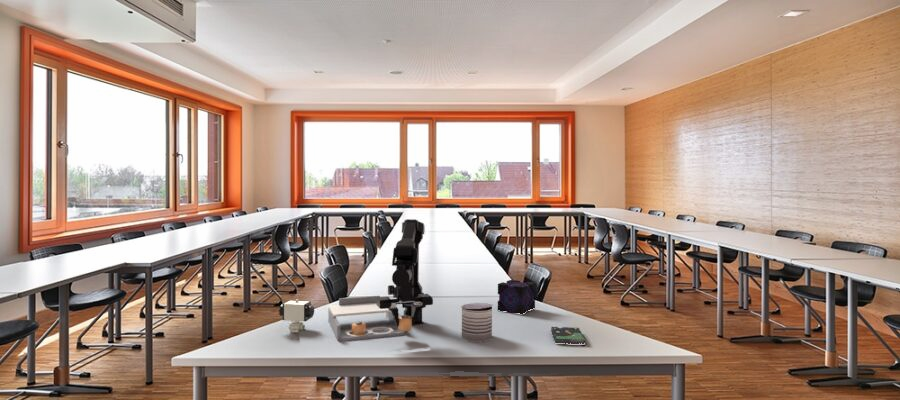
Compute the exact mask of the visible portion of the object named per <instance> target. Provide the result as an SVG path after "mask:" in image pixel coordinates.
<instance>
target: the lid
mask: <svg viewBox="0 0 900 400" xmlns="http://www.w3.org/2000/svg"><path fill="white" fill-rule="evenodd" d="M378 297H381V296H380V295H371V296H370V295H369V296H367V295H366V296H355V297H353V296H352V297H339V298H338V304H332V305H330V304H329V305H328V308H329V309H330V311H331V313H332V315H333V317H336V318H337V317H338V318H339V317H347V316H358V315H359V316H360V315H361V316H362V315H372V314H373V315H374V314H383V313H385V314H386V312H391V311H390V310H389V309H388V308H386V309H380V308H379V307H378V306H377V298H378Z"/></svg>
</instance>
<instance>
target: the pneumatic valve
mask: <svg viewBox="0 0 900 400" xmlns="http://www.w3.org/2000/svg"><path fill="white" fill-rule="evenodd" d="M278 314H279V316H280V317H281V318H282V321H284V322H285V321H288V322H290V321H291V323H289V325H288V329H289V333H291V334H298V333H299V331H304V330H305V328H306V326H305V324H304V322H307V321H309V320H310V319H312V318H313V317H314V315H315V306H314V305H312V301H307V300H305V301H303V300H299V299H298V298H297V299H295V300H287V301H285V302H282V304H281V305H280V306H279V309H278Z"/></svg>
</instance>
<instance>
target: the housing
mask: <svg viewBox="0 0 900 400" xmlns="http://www.w3.org/2000/svg"><path fill="white" fill-rule="evenodd" d="M327 308H328V317H327V318H328V320H327V321H328V323H329V326H330V328H331V330H332V332H333V334H334V337H335V340H337V341H338V342H348V341H358V340H359V341H361V340H368V339H379V338H389V337H390V338H391V337H397V336H398V337H400V336H404V335H406V331H400V330H398V327H397V326H396V323H395V320H394V317H393V314H392V312H386V313H385V316H386V317H385V318H387V319H388V320H384V321H376V322H375V321H374V322H365V323H366V334H364V335H352V324H353V323H351V324H340V322H339V320H338V319H337V317H333V315H332V313H331V311H330V309H329V307H327ZM398 316H402V314H401V313H399V312H398Z"/></svg>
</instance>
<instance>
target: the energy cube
mask: <svg viewBox="0 0 900 400" xmlns="http://www.w3.org/2000/svg"><path fill="white" fill-rule="evenodd" d="M497 294H498V295H499V297H498V300H497V311H498V310H500V311H509V312H508V313H512V314H513V313H520V314H523V313H525V312H526V311H528V310H530V309H533V308H535V309H536V299H534V298H535V297H534V295H535V294H536V282H532V281H525V282H522V281H521V280H516V279H508V280H506V282H499V283H497ZM500 311H499V312H500ZM528 312H529V311H528Z"/></svg>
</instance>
